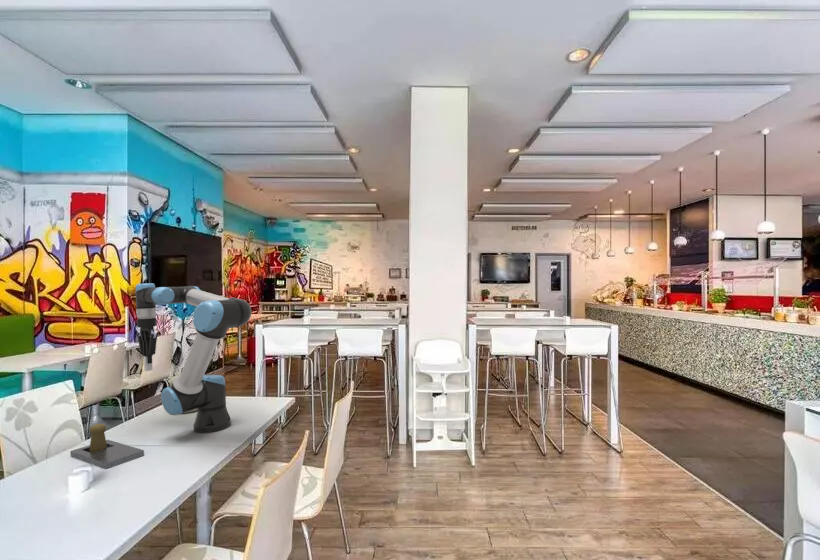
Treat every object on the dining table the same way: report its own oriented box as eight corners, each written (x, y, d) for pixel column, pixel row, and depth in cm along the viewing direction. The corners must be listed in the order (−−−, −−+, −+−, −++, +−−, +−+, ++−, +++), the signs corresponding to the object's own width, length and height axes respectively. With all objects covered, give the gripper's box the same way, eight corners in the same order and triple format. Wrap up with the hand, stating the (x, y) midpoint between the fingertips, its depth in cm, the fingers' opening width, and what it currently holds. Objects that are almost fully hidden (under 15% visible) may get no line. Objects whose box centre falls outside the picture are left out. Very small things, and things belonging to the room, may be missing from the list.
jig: (144, 455, 164) (143, 450, 164) (106, 469, 153) (105, 463, 153) (108, 444, 178) (107, 439, 178) (70, 456, 166) (70, 451, 166)
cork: (97, 456, 165) (96, 427, 165) (84, 455, 166) (83, 427, 167) (111, 450, 171) (110, 422, 171) (99, 449, 172) (98, 421, 172)
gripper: (129, 318, 195) (131, 371, 195) (146, 318, 189) (148, 373, 188) (147, 317, 202) (148, 367, 202) (163, 317, 195) (165, 369, 195)
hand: (148, 370), depth 195 cm, fingers closed
